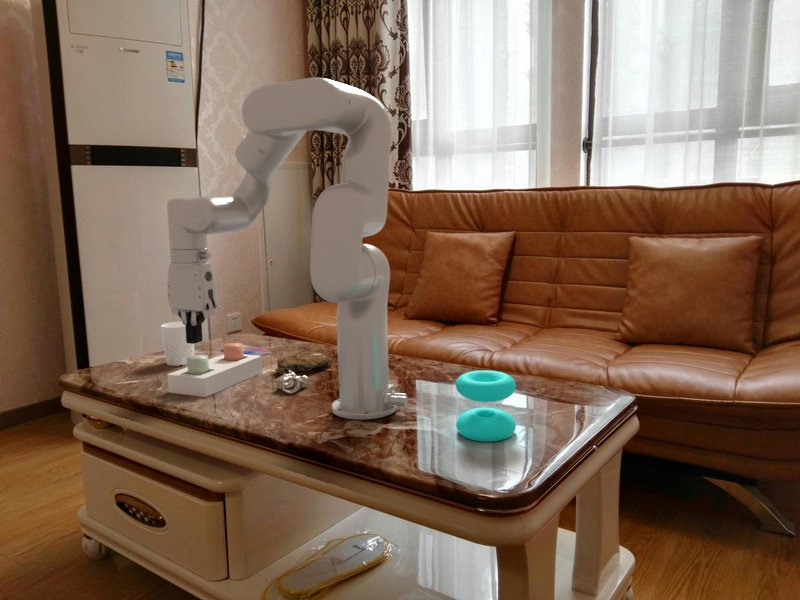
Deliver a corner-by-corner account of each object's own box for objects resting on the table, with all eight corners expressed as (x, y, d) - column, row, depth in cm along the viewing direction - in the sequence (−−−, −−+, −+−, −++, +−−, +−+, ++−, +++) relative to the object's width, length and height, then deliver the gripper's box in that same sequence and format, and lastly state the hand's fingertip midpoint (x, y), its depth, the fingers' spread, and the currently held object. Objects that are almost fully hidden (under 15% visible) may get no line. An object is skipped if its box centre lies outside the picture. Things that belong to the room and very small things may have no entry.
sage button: (213, 373, 136) (212, 355, 136) (199, 378, 132) (198, 360, 132) (197, 371, 138) (196, 354, 137) (183, 376, 134) (182, 358, 133)
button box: (262, 372, 148) (261, 355, 148) (205, 397, 130) (204, 378, 129) (228, 368, 152) (227, 352, 151) (168, 392, 134) (167, 374, 133)
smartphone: (242, 343, 177) (273, 351, 167) (242, 347, 177) (273, 355, 167) (218, 348, 172) (249, 356, 162) (219, 351, 172) (249, 360, 162)
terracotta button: (247, 360, 147) (246, 343, 146) (235, 364, 143) (234, 347, 143) (232, 358, 149) (231, 342, 148) (220, 363, 145) (219, 346, 144)
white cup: (190, 366, 155) (187, 327, 154) (159, 367, 156) (155, 327, 154) (200, 358, 163) (198, 321, 162) (171, 359, 163) (167, 321, 162)
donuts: (448, 370, 109) (502, 366, 111) (449, 425, 110) (502, 420, 112) (466, 387, 99) (525, 381, 101) (466, 447, 101) (525, 440, 103)
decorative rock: (304, 382, 142) (339, 368, 155) (304, 364, 141) (339, 351, 154) (263, 374, 146) (300, 361, 160) (263, 357, 146) (301, 345, 159)
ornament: (312, 393, 132) (311, 376, 131) (279, 396, 130) (278, 379, 129) (305, 383, 139) (305, 367, 139) (274, 386, 137) (273, 370, 137)
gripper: (229, 256, 132) (234, 341, 135) (174, 254, 138) (180, 335, 141) (205, 260, 125) (210, 349, 128) (148, 257, 131) (154, 343, 134)
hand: (194, 342), depth 134 cm, fingers closed
